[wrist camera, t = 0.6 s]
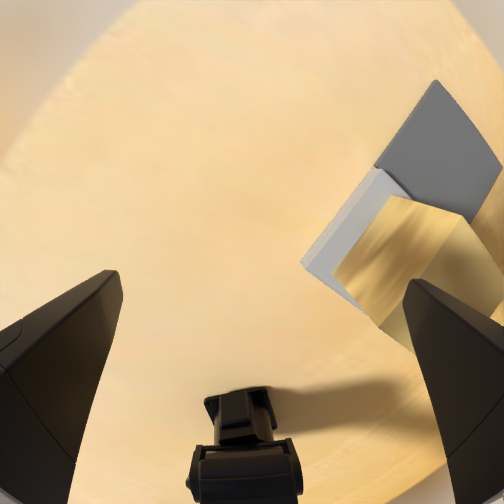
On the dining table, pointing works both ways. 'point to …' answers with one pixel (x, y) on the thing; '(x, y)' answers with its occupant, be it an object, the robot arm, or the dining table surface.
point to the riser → (349, 228)
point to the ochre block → (417, 263)
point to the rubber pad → (441, 156)
